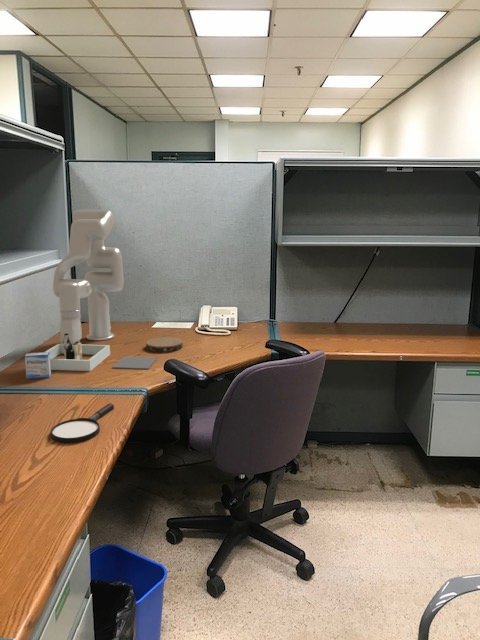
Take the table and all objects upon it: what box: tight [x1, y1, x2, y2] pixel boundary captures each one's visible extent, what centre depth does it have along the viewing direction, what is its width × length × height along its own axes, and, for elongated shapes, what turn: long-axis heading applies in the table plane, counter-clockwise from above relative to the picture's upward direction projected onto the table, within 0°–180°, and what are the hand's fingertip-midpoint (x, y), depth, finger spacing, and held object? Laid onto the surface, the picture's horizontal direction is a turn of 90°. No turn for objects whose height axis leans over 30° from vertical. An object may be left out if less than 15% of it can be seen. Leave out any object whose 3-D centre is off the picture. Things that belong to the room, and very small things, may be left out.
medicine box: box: [24, 351, 52, 380], centre depth 176 cm, size 8×4×9 cm, turn 105°
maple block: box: [64, 342, 83, 360], centre depth 194 cm, size 5×5×7 cm
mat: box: [111, 356, 158, 370], centre depth 193 cm, size 14×14×1 cm
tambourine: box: [145, 336, 184, 354], centre depth 215 cm, size 16×16×3 cm
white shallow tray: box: [44, 343, 111, 372], centre depth 194 cm, size 22×22×4 cm
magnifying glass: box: [50, 403, 115, 444], centre depth 137 cm, size 12×24×2 cm, turn 163°
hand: (73, 358), depth 194 cm, fingers closed on maple block, 5 cm apart
